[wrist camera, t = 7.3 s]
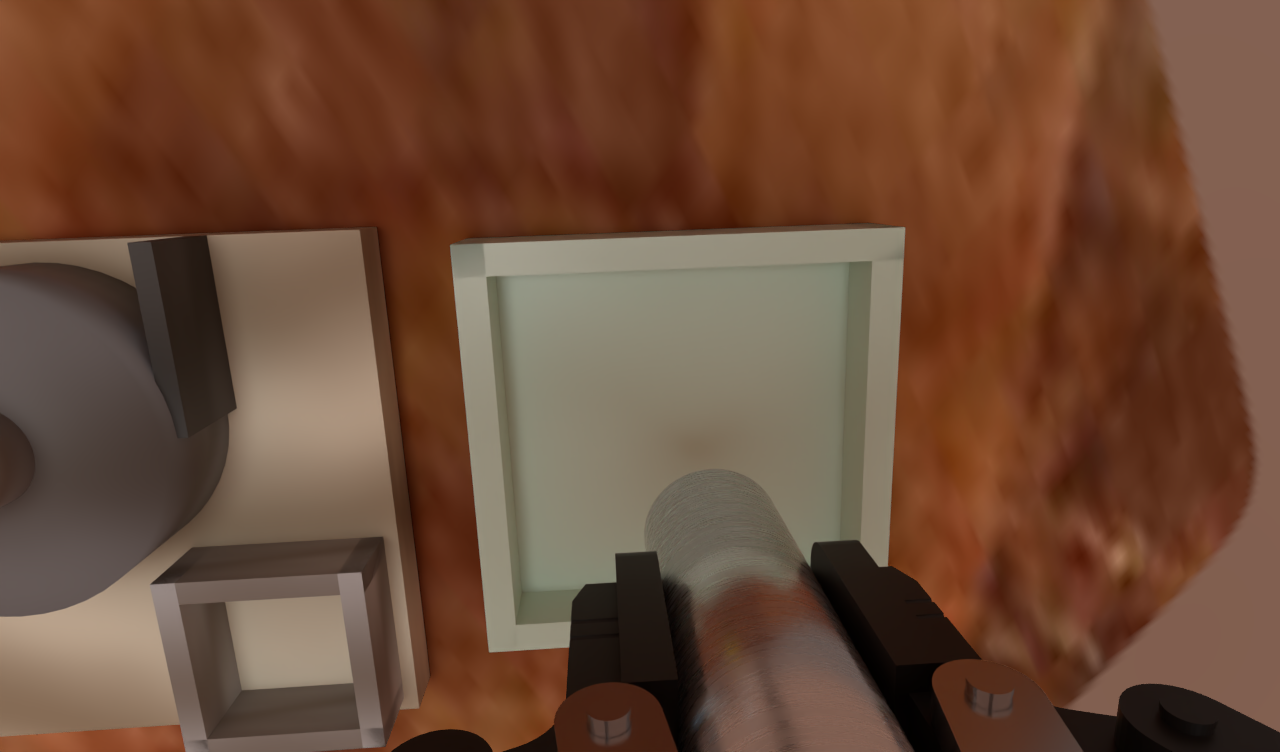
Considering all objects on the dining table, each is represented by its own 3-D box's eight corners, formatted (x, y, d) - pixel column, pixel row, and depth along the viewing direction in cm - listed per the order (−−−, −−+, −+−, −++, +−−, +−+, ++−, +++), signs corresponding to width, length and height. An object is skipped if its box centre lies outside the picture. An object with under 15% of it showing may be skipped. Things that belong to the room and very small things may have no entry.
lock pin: (615, 450, 15) (652, 970, 5) (804, 440, 15) (1214, 923, 5) (623, 621, 16) (667, 1354, 6) (801, 610, 16) (1143, 1303, 6)
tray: (467, 238, 20) (450, 245, 18) (869, 222, 21) (905, 227, 18) (500, 603, 23) (489, 652, 21) (854, 582, 24) (884, 626, 21)
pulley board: (-96, 244, 20) (-425, 270, 13) (376, 226, 20) (277, 243, 14) (29, 702, 23) (-185, 896, 17) (429, 676, 24) (369, 853, 17)
